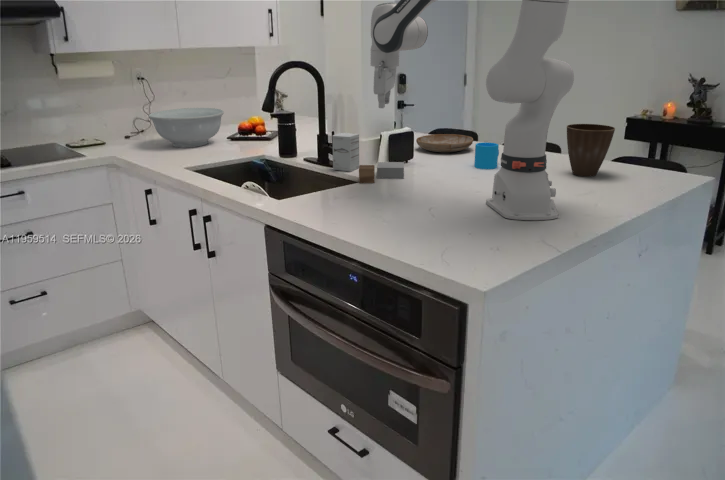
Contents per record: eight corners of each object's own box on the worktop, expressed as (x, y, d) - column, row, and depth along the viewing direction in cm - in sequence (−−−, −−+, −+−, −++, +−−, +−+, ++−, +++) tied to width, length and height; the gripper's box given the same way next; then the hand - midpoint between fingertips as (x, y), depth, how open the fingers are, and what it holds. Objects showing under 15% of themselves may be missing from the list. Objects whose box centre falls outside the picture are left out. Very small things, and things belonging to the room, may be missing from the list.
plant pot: (587, 167, 195) (593, 122, 190) (618, 177, 182) (625, 128, 177) (552, 171, 191) (557, 125, 185) (581, 181, 178) (587, 131, 172)
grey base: (403, 179, 185) (403, 167, 183) (377, 179, 185) (377, 167, 184) (403, 173, 193) (403, 162, 192) (378, 173, 194) (378, 162, 192)
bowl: (172, 154, 230) (167, 119, 224) (141, 144, 252) (136, 112, 247) (239, 144, 250) (236, 111, 245) (205, 136, 272) (202, 106, 267)
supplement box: (332, 170, 198) (331, 135, 193) (342, 166, 204) (341, 132, 200) (350, 172, 195) (349, 136, 190) (360, 168, 201) (359, 133, 196)
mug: (489, 170, 194) (490, 147, 191) (469, 167, 200) (471, 144, 197) (506, 164, 202) (508, 142, 199) (487, 161, 208) (489, 140, 205)
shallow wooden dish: (422, 144, 244) (422, 132, 243) (475, 146, 237) (476, 134, 236) (410, 154, 224) (410, 142, 222) (468, 157, 217) (469, 144, 215)
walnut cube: (374, 183, 180) (374, 168, 178) (359, 183, 180) (358, 168, 178) (374, 179, 184) (374, 164, 183) (359, 179, 184) (359, 165, 183)
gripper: (390, 62, 159) (389, 111, 164) (399, 58, 178) (398, 101, 183) (368, 62, 160) (368, 110, 165) (380, 58, 179) (379, 101, 184)
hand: (384, 105), depth 174 cm, fingers open, 8 cm apart
